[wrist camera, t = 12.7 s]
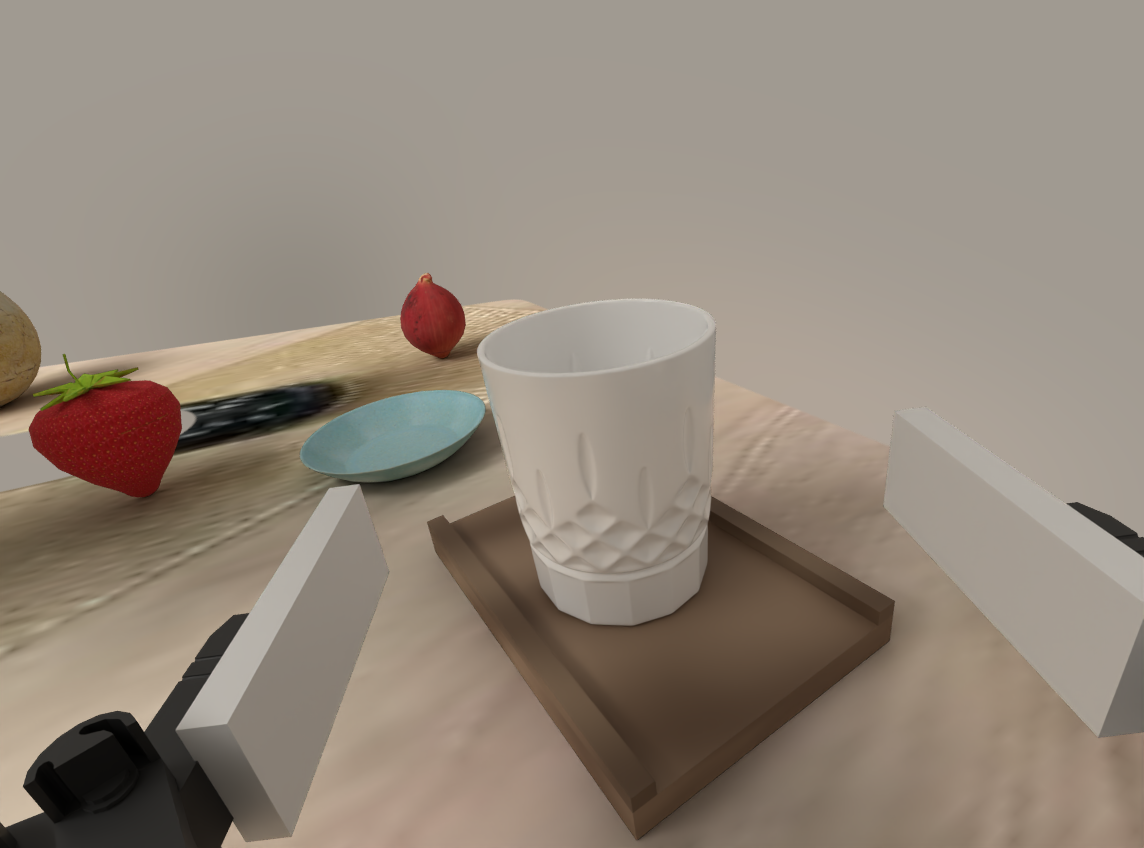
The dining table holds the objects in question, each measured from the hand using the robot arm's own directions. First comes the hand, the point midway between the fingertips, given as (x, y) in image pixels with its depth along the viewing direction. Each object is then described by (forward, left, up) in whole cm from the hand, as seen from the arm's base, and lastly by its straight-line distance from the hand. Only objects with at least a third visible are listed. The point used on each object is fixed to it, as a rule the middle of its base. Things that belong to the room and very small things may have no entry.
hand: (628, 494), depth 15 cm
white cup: (-6, +3, -8) cm, 10 cm away
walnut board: (-6, +3, -9) cm, 11 cm away
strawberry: (-33, -15, -9) cm, 37 cm away
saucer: (-26, 0, -9) cm, 27 cm away
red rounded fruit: (-43, +9, -9) cm, 45 cm away
